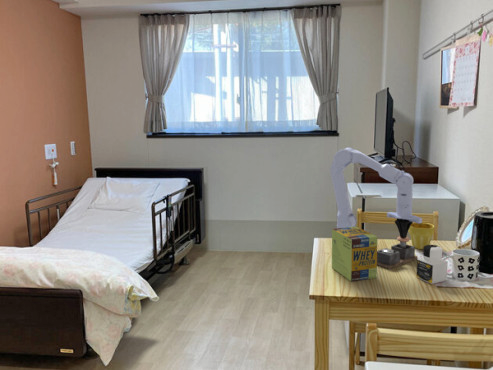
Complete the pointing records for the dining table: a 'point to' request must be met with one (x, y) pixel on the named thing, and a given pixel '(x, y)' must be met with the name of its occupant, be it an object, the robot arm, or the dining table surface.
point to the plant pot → (421, 234)
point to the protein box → (354, 253)
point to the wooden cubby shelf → (396, 256)
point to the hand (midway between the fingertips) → (403, 237)
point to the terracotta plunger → (403, 242)
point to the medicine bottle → (432, 265)
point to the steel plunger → (387, 251)
